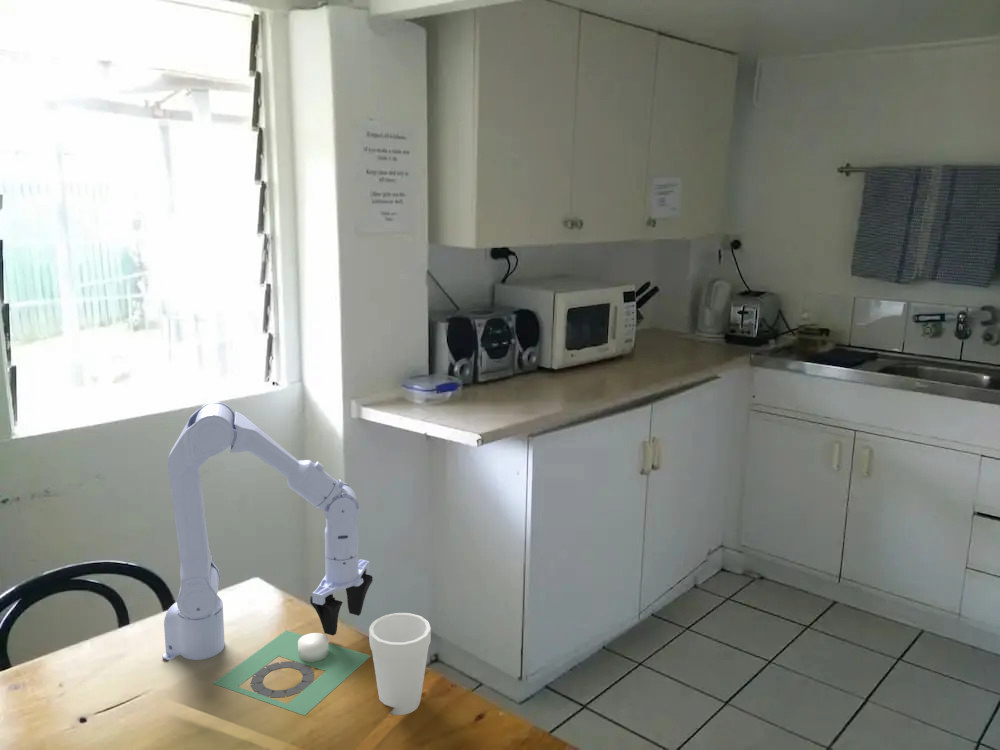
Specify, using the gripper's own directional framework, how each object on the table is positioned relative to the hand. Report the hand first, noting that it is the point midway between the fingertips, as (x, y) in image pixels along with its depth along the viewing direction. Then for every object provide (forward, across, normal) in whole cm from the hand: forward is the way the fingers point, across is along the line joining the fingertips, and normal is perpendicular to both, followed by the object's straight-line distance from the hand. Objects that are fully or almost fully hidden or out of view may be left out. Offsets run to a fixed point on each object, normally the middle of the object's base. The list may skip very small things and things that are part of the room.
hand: (342, 623), depth 144 cm
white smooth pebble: (+1, -9, 0) cm, 9 cm away
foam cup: (+3, -12, -19) cm, 22 cm away
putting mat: (+3, -14, 0) cm, 14 cm away
